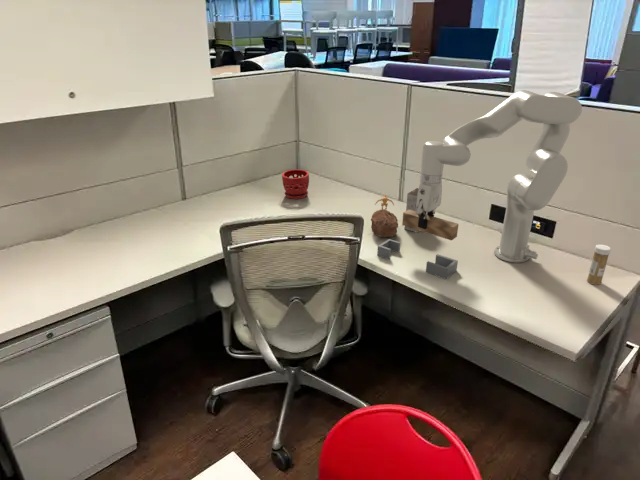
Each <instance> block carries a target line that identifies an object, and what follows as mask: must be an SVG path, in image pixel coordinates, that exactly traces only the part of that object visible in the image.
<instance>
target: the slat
mask: <svg viewBox="0 0 640 480" xmlns="http://www.w3.org/2000/svg"><path fill="white" fill-rule="evenodd" d="M418 220H419V217H418V214H416V211H412V210H407V211H406V210H405V211H404V212H402V224H401V225H402V226H403V227H405V226H407V227H410V228H413V229H416V230H419V232H423V233H426V234H429V235H433V236H436V237H440V238H441V239H445V240H449V241H453V240H454V239H456V238H457V237H458V231H459V223H457V222H453V221H450V220H447V219H443V218H440V217H435V216H434V217H433V216H429V215H427V227H426V229H423V228H419V227H418Z"/></svg>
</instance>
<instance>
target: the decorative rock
mask: <svg viewBox="0 0 640 480" xmlns="http://www.w3.org/2000/svg"><path fill="white" fill-rule="evenodd" d="M370 221H371V227H370V228H371V231H372V233H373V235H374V236H377V237H381V238H390V237H391V238H392V237H395V236H396V235H397V233H398V227H399V223H398V221H399V220H398V218H397V216H396V215H395V214H394V213H392V212H390V211H389V210H387V209H386V210H385V209H384V208H383V209H382V208H381V209H379V210H376V211H374V212H373V214H372V215H371V219H370Z"/></svg>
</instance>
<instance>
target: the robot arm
mask: <svg viewBox="0 0 640 480" xmlns="http://www.w3.org/2000/svg"><path fill="white" fill-rule="evenodd" d="M582 112H583V106H582V103H581V102H580V100H578V99H577V98H575V97H574V96H569V95H567V94H564V93H561V92H557V91H549V92H546V93H545V94H540V93H539V94H538V93H535V92H533V91H530V90H524V89H523V90H518V91H516V92H514V93H513V94H511V95H510V96H509V97H508V98H505V100H504V101H502V102H501V103H500V104H498V105H497V106H496V107H494V108H493V109H492V110H490V111H489V112H487V113H486V114H484V115H483V116H481V117H477V118H476V119H473V120H471V121H468V122H466V123H465V124H463V125H461V126H459V127H457V128H456V129H454V130H453V131H452V132H451V133H449V134H448V135H447V136H446V137H445V138H444V139H442V141H438V140H430V141H429V140H428V141H426V142H424V144H423V145H422V152H421V153H422V154H421V165H420V174H419V182H420V183H419V187H418V188H419V190H418V195H417V204H416V208H417V211H416V214H418V217H419V220H418V227H419V228H423V229H426V227H427V215H429V216H433V217H435V214H436V209H437V208H439V207H440V206H441V203H442V194H443V193H442V192H443V183H442V182H443V172H444V166H445V165H448V166H454V167H455V166H456V167H459V166H460V167H461V166H463V165H466V164H467V163H468V162H469V161H470V159H471V157H472V156H471V150H470V148H469V147H468V146H469V145H470V144H472V143H474V142H477V141H479V140H482V139H483V140H484V139H485V140H486V139H492V138H493V139H494V138H498V137H500V136H502V135H504V133H506V132H507V131H508V130H510V129H511V128H513V127H514V126H516V125H517V124H518V123H520V122H521V121H523V120H525V121H526V122H529V123H536V124H542V128H541V132H540V134H539V136H538V138H537V139H536V141H535V143H534V145H533V146H532V148H531V149H530V151H529V153H528V155H527V157H526V159H525V166H526V168H527V169H528V170H529V171H530V172H532V173H533V174H535V175H534V176H532V175H531V174H528V173H521V172H520V173H517V174H515V175H514V176H512V177H511V178H510V179H509V182H508V183H507V187H506V207H505V213H504V219H503V223H502V224H503V225H502V231H501V236H500V243H499V246H496V247H495V248H494V251H493V253H494V255H495V256H496V257H497V258H498V259H500V260H502V261H505V262H510V263H519V264H520V263H525V262H527V261H529V259H530V258H531V259H534V260H537V259H538V256H539V255H538V254H537V251H536V250H532V249H530V245H529V240H530V239H529V238H530V235H531V229H532V226H533V225H532V224H533V220H534V215H535V211H540V210H542V209H544V208H545V207H546V206H547V205H548V204H549V203H550V201H551V200H552V199H553V197H554V195H555V194H556V192H557V191H558V190H559V188H560V186H561V184H562V182H563V180H564V179H565V177H566V176H567V172H568V167H569V165H568V161H567V159H566V157H565V156H563V155H562V154H561V151H562V149H563V148H564V146H565V144H566V142H567V140H568V138H569V134H570V130H571V129H570V128H571V125H570V124H572V123H574V122H576V121H577V120H578V119H579V118H580V116H581V115H582ZM422 208H424V209H422ZM422 211H423V212H425V214H424V213H422Z"/></svg>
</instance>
